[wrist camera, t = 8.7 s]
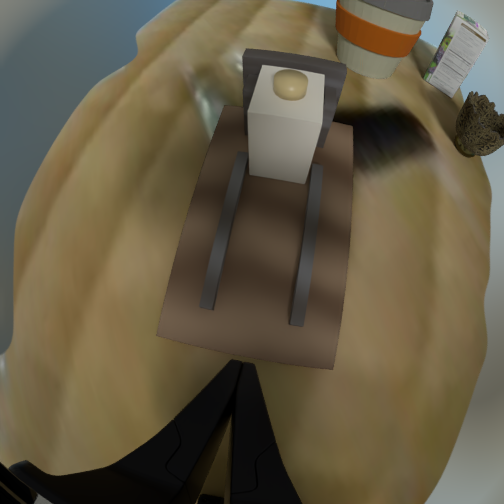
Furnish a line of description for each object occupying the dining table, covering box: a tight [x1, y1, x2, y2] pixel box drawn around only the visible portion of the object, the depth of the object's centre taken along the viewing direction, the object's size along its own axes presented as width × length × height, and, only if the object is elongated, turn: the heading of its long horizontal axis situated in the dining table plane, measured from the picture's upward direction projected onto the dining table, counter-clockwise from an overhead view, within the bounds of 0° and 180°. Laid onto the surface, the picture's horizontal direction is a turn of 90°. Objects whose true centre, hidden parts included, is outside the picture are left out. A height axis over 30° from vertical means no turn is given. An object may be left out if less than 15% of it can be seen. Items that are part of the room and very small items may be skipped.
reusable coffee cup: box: [336, 0, 433, 79], centre depth 26 cm, size 12×13×15 cm
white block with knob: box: [247, 65, 325, 184], centre depth 21 cm, size 6×5×9 cm
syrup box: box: [424, 11, 489, 98], centre depth 26 cm, size 6×6×14 cm
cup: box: [455, 91, 504, 158], centre depth 24 cm, size 7×7×8 cm
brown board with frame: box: [156, 49, 353, 370], centre depth 21 cm, size 24×14×9 cm, turn 169°
